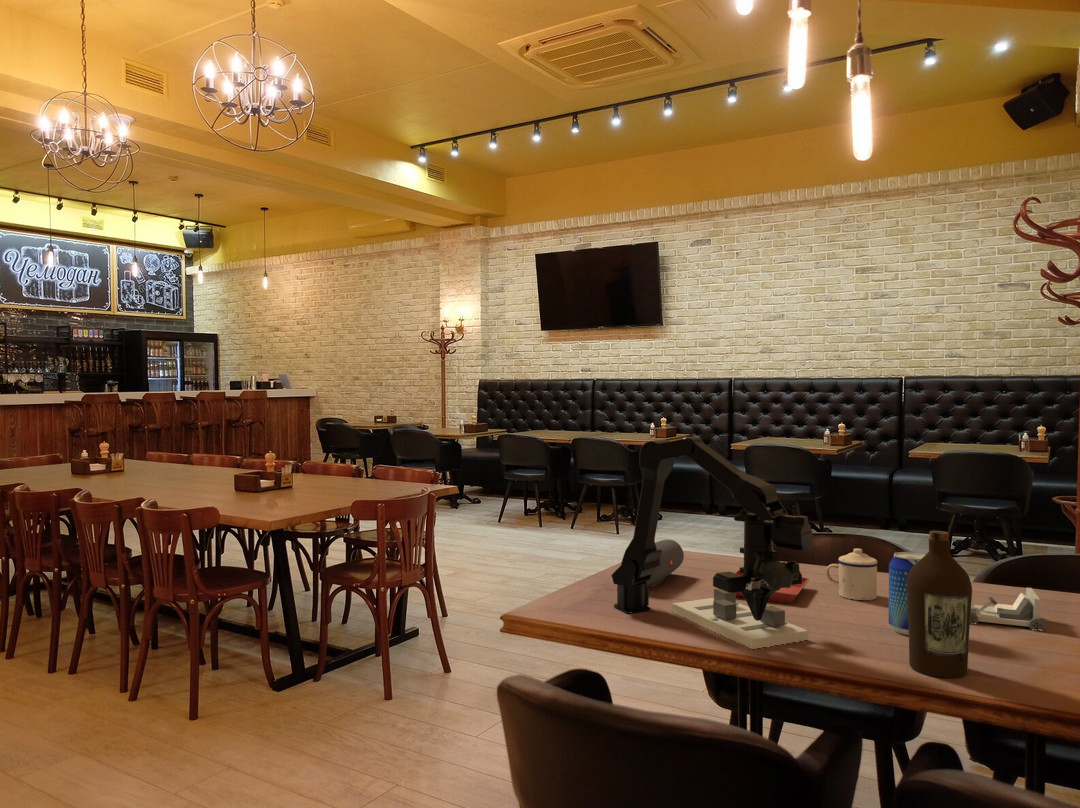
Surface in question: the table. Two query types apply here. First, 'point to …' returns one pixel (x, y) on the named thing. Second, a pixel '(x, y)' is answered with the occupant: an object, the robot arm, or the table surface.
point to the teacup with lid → (856, 576)
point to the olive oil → (939, 612)
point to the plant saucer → (783, 591)
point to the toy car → (1011, 612)
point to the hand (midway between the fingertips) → (757, 620)
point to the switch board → (739, 625)
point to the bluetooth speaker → (666, 561)
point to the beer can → (900, 589)
